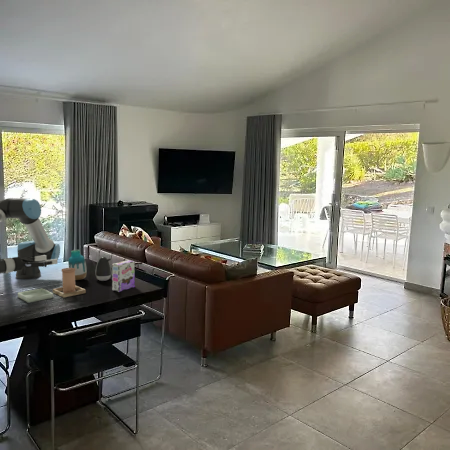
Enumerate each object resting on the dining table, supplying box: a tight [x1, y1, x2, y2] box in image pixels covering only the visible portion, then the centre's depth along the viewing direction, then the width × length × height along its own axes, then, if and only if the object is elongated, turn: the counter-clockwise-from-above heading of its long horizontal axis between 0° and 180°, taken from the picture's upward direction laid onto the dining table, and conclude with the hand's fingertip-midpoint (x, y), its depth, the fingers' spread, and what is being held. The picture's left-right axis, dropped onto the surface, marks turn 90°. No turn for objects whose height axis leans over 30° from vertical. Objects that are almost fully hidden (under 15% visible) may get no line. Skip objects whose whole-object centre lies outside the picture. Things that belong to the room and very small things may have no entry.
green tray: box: [17, 287, 54, 304], centre depth 253 cm, size 14×14×2 cm
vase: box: [67, 249, 88, 281], centre depth 289 cm, size 11×11×19 cm
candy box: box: [111, 259, 136, 293], centre depth 272 cm, size 14×6×16 cm, turn 148°
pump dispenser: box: [95, 256, 112, 282], centre depth 292 cm, size 10×10×15 cm
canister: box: [61, 267, 76, 294], centre depth 262 cm, size 8×8×14 cm
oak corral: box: [52, 284, 87, 298], centre depth 263 cm, size 14×14×2 cm
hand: (51, 259), depth 253 cm, fingers open, 13 cm apart
